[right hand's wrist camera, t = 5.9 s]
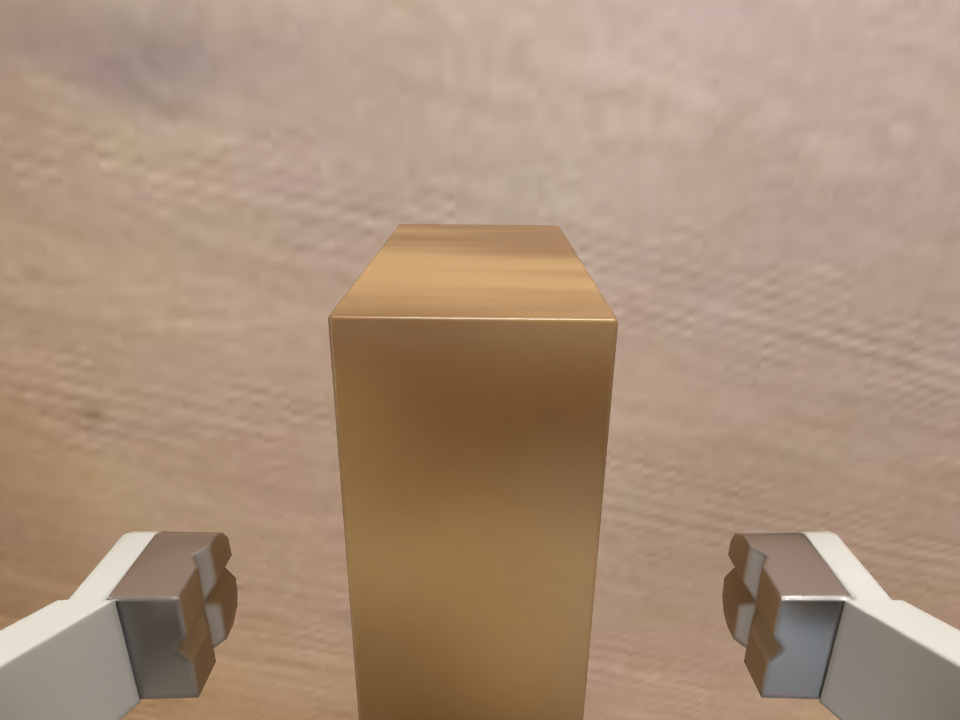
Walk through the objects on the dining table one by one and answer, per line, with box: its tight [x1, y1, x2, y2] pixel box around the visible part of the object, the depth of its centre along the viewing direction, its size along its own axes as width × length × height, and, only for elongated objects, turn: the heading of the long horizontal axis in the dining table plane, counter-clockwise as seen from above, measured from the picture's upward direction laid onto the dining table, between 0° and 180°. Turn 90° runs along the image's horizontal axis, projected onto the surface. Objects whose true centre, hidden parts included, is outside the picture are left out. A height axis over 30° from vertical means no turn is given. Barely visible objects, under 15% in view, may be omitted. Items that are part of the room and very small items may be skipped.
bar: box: [328, 224, 618, 720], centre depth 19 cm, size 26×4×9 cm, turn 179°
